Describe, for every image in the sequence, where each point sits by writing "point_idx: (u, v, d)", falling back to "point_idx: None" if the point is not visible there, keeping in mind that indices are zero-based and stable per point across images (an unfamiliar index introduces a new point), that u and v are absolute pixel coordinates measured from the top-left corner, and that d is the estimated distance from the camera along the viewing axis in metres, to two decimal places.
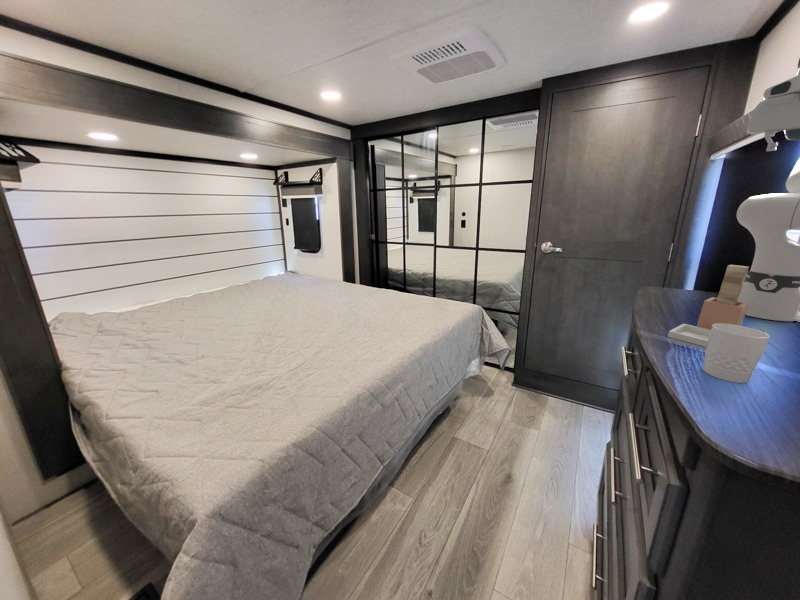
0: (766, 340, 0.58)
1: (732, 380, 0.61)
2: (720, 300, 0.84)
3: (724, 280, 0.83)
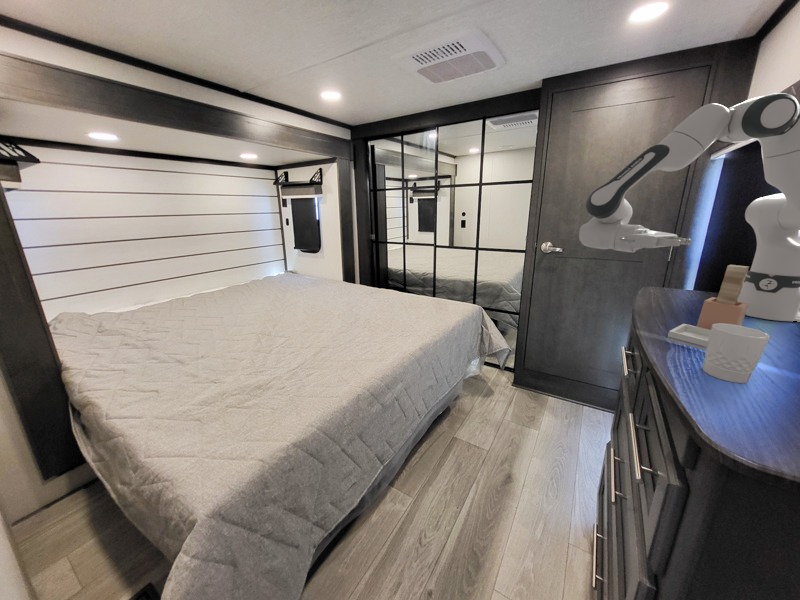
0: (766, 340, 0.58)
1: (732, 380, 0.61)
2: (720, 300, 0.84)
3: (724, 280, 0.83)
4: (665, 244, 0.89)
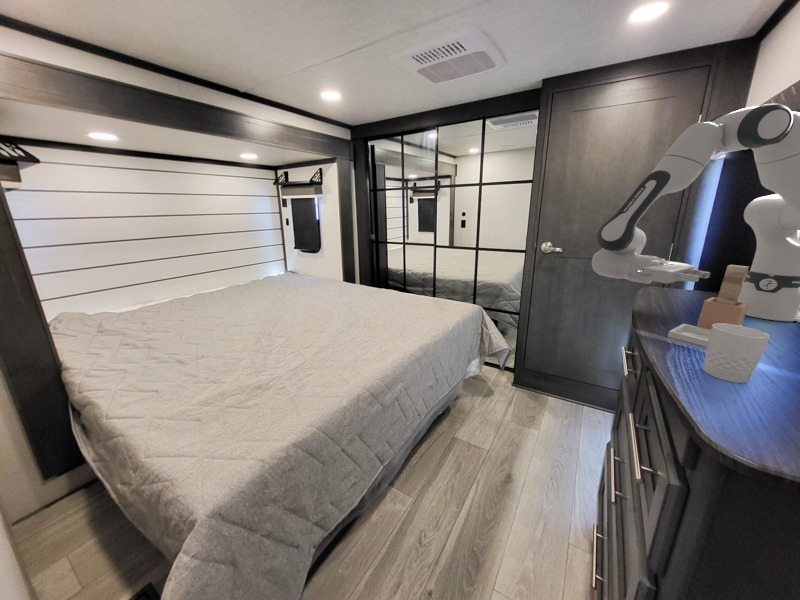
0: (766, 340, 0.58)
1: (732, 380, 0.61)
2: (720, 300, 0.84)
3: (724, 280, 0.83)
4: (683, 279, 0.87)
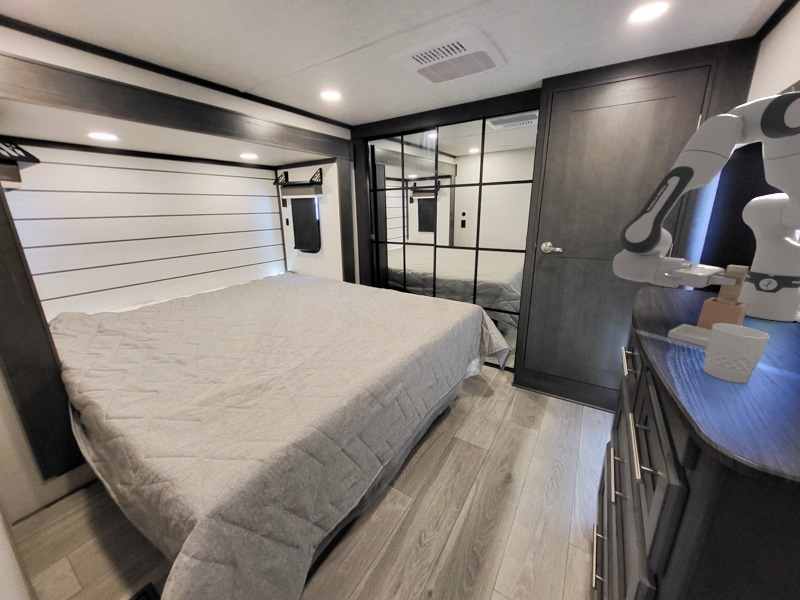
0: (766, 340, 0.58)
1: (732, 380, 0.61)
2: (720, 300, 0.84)
3: None
4: (719, 283, 0.83)
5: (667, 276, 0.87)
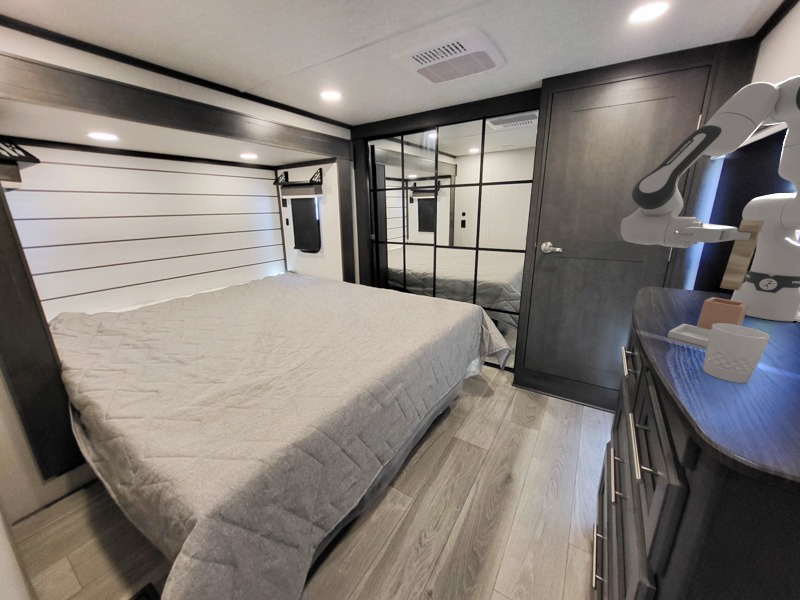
0: (766, 340, 0.58)
1: (732, 380, 0.61)
2: (734, 257, 0.81)
3: None
4: (733, 238, 0.79)
5: (678, 233, 0.83)
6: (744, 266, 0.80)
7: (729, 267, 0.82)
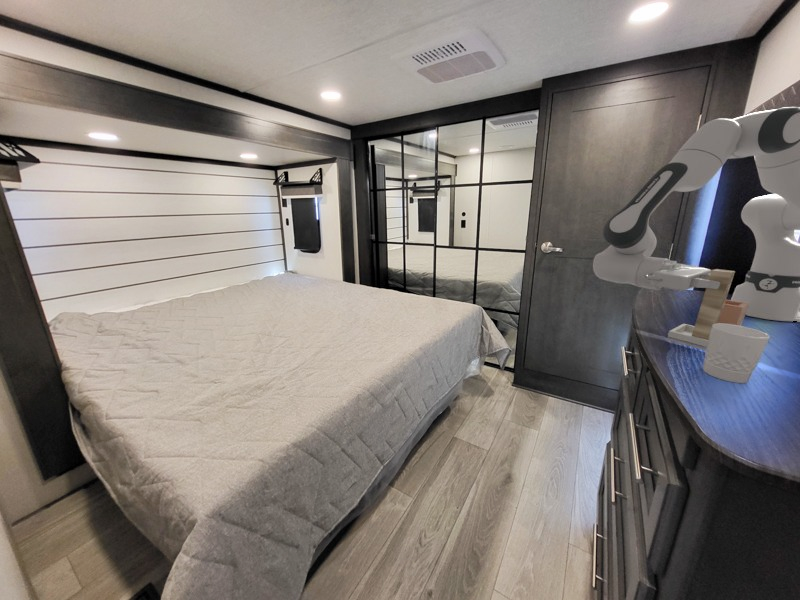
0: (766, 340, 0.58)
1: (732, 380, 0.61)
2: (704, 308, 0.77)
3: None
4: (702, 286, 0.74)
5: (647, 278, 0.79)
6: (715, 318, 0.76)
7: (700, 318, 0.78)
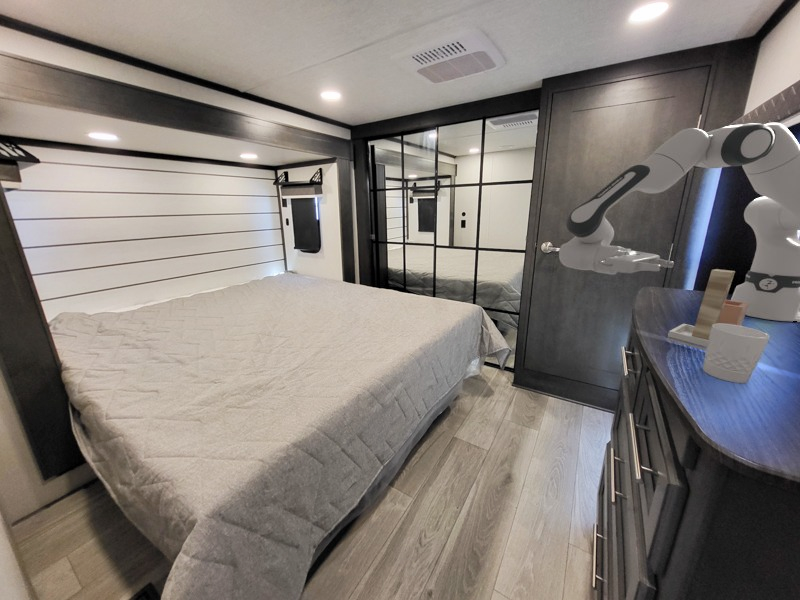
0: (766, 340, 0.58)
1: (732, 380, 0.61)
2: (704, 308, 0.77)
3: (708, 286, 0.76)
4: (644, 269, 0.84)
5: (600, 263, 0.89)
6: (715, 318, 0.76)
7: (700, 318, 0.78)
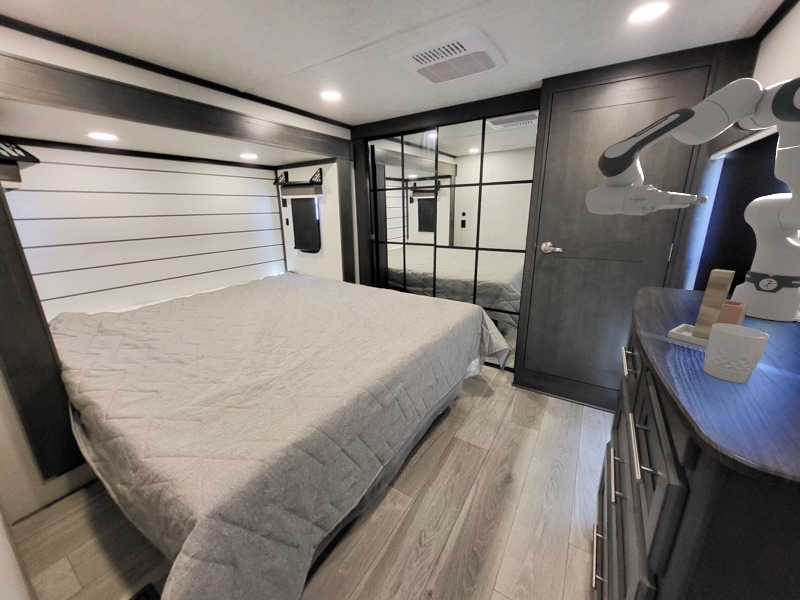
0: (766, 340, 0.58)
1: (732, 380, 0.61)
2: (704, 308, 0.77)
3: (708, 286, 0.76)
4: (680, 201, 0.82)
5: (633, 198, 0.87)
6: (715, 318, 0.76)
7: (700, 318, 0.78)
